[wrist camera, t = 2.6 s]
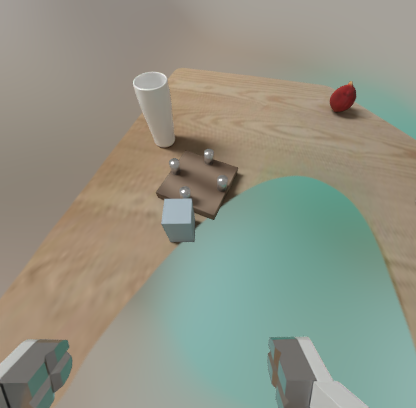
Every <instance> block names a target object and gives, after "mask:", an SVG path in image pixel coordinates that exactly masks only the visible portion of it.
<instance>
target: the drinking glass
mask: <svg viewBox="0 0 416 408" xmlns="http://www.w3.org/2000/svg"><path fill="white" fill-rule="evenodd" d="M133 86H134V89H135V93H136V96H137V99H138V102H139V105H140V107H141V110H142V112H143V114H144V117H145V119H146V121H147V124H148V126H149V129H150V131H151V133H152V136H153V139H154V142H155V144H156V145H157V146H159V147H169V146H171V145H172V144H173V143H174V142H175V134H174V125H173V114H172V103H171V95H170V89H169V85H168V80H167V77H166V76H165V75H164V74H162V73H159V72H147V73H143V74H141V75H138V76H137V77H136V78H135V79H134V81H133Z"/></svg>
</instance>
